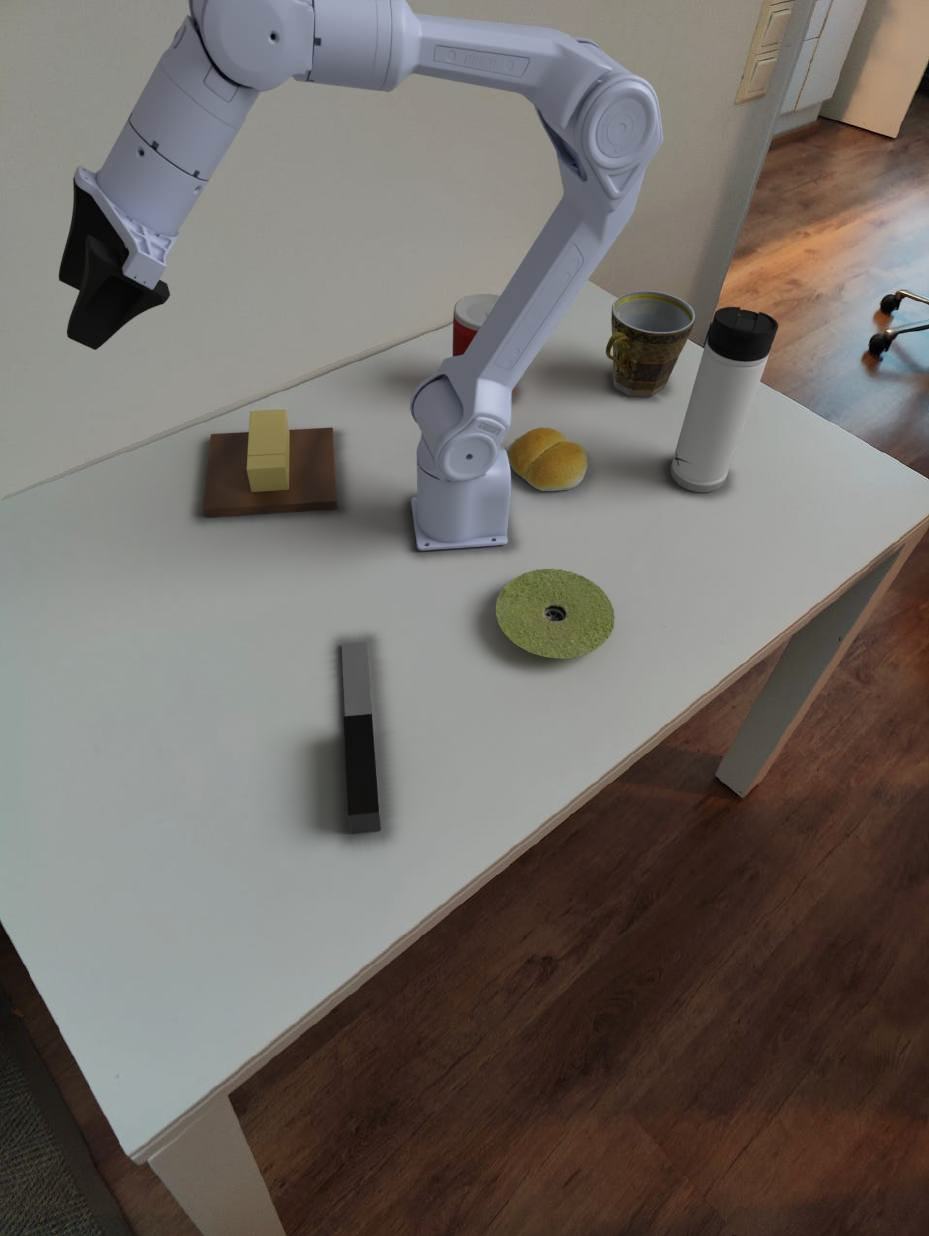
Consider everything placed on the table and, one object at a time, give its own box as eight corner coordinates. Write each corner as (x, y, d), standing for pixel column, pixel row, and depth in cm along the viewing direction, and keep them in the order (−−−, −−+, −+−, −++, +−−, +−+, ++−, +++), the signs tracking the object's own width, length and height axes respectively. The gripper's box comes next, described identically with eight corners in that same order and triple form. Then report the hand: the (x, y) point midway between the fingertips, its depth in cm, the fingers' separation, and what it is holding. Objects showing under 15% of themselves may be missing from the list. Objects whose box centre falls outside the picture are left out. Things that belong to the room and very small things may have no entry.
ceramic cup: (632, 353, 111) (647, 282, 103) (692, 386, 106) (712, 314, 98) (567, 389, 105) (578, 316, 97) (627, 425, 100) (643, 352, 92)
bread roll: (551, 505, 90) (555, 476, 87) (496, 464, 94) (498, 435, 91) (602, 474, 94) (608, 446, 91) (547, 436, 98) (551, 408, 95)
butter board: (333, 435, 97) (332, 427, 96) (337, 509, 89) (336, 500, 88) (212, 442, 95) (210, 433, 95) (204, 517, 87) (202, 509, 86)
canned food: (515, 409, 101) (522, 328, 93) (450, 407, 101) (452, 325, 93) (513, 374, 106) (520, 294, 98) (452, 372, 106) (454, 291, 98)
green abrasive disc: (470, 628, 78) (471, 614, 77) (540, 565, 84) (542, 551, 83) (566, 691, 74) (569, 678, 72) (633, 620, 80) (637, 607, 78)
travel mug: (663, 486, 93) (709, 323, 78) (676, 453, 97) (721, 291, 82) (718, 501, 91) (775, 338, 76) (729, 466, 95) (785, 305, 80)
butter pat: (289, 476, 90) (285, 453, 88) (289, 490, 89) (285, 466, 86) (252, 479, 90) (247, 455, 87) (251, 492, 88) (246, 469, 86)
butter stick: (289, 431, 95) (285, 408, 93) (289, 476, 90) (285, 453, 88) (254, 433, 95) (249, 410, 92) (252, 478, 90) (247, 455, 87)
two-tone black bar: (381, 831, 65) (379, 812, 62) (350, 834, 64) (347, 815, 62) (367, 643, 77) (365, 621, 74) (341, 645, 76) (338, 623, 74)
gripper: (98, 66, 55) (14, 233, 61) (124, 158, 47) (24, 342, 53) (193, 133, 60) (107, 282, 66) (232, 227, 52) (129, 388, 58)
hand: (76, 312), depth 60 cm, fingers open, 7 cm apart
